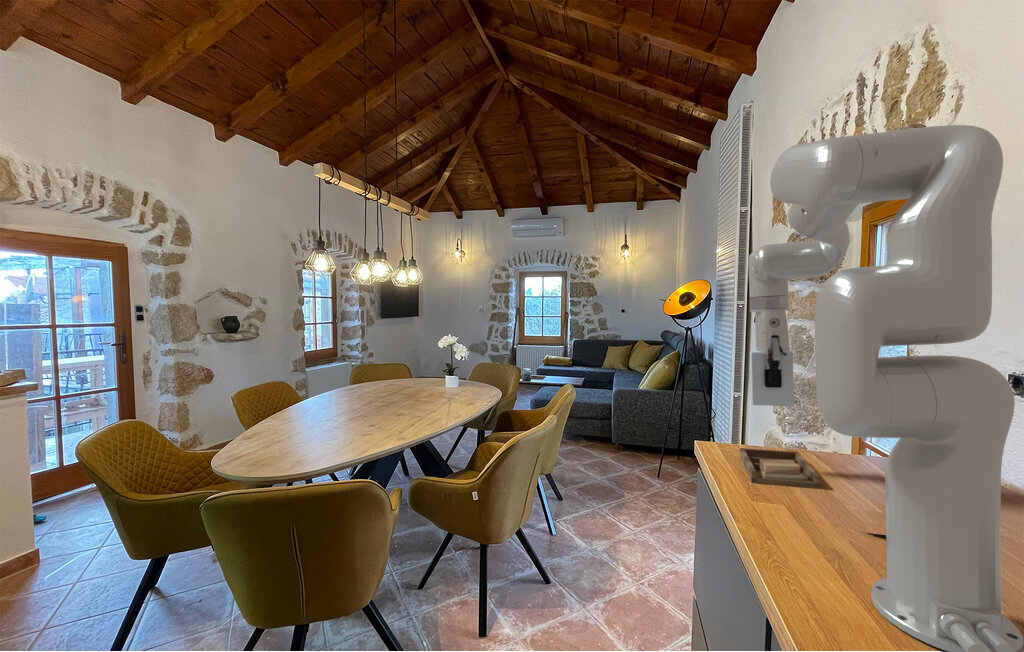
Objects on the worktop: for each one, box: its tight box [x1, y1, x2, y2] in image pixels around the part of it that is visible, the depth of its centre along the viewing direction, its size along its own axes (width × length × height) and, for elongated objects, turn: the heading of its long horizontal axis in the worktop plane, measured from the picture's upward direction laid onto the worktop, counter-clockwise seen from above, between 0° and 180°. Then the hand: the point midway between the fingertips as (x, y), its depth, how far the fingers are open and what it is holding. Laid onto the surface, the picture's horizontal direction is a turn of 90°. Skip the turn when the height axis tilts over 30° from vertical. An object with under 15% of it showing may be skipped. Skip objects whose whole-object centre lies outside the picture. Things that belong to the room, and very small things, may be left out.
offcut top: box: [760, 459, 800, 475], centre depth 89 cm, size 4×6×2 cm, turn 78°
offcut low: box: [761, 469, 803, 481], centre depth 89 cm, size 4×7×2 cm, turn 70°
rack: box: [739, 447, 821, 490], centre depth 93 cm, size 15×12×4 cm
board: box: [749, 350, 795, 408], centre depth 95 cm, size 2×8×12 cm, turn 70°
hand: (771, 385), depth 95 cm, fingers closed on board, 2 cm apart
